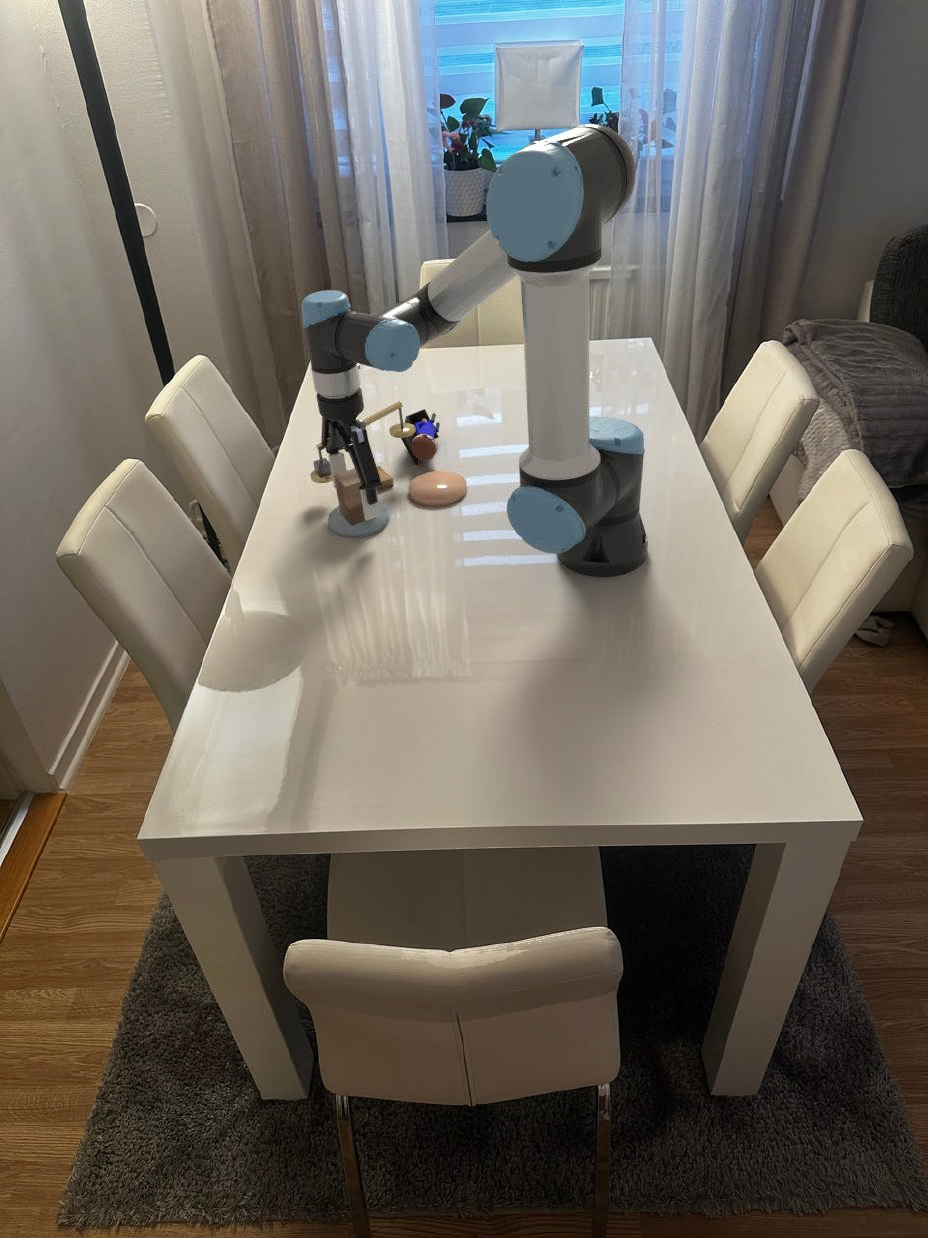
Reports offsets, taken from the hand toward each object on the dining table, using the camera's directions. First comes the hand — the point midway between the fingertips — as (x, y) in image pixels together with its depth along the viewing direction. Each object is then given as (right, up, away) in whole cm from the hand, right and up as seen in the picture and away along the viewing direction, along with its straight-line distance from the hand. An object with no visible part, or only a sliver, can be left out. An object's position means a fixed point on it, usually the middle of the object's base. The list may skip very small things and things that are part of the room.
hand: (356, 501), depth 160 cm
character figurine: (+11, +13, +22) cm, 28 cm away
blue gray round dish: (0, -3, +3) cm, 4 cm away
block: (0, -2, +2) cm, 3 cm away
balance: (+1, +5, +13) cm, 14 cm away
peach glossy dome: (+14, +3, +9) cm, 17 cm away
